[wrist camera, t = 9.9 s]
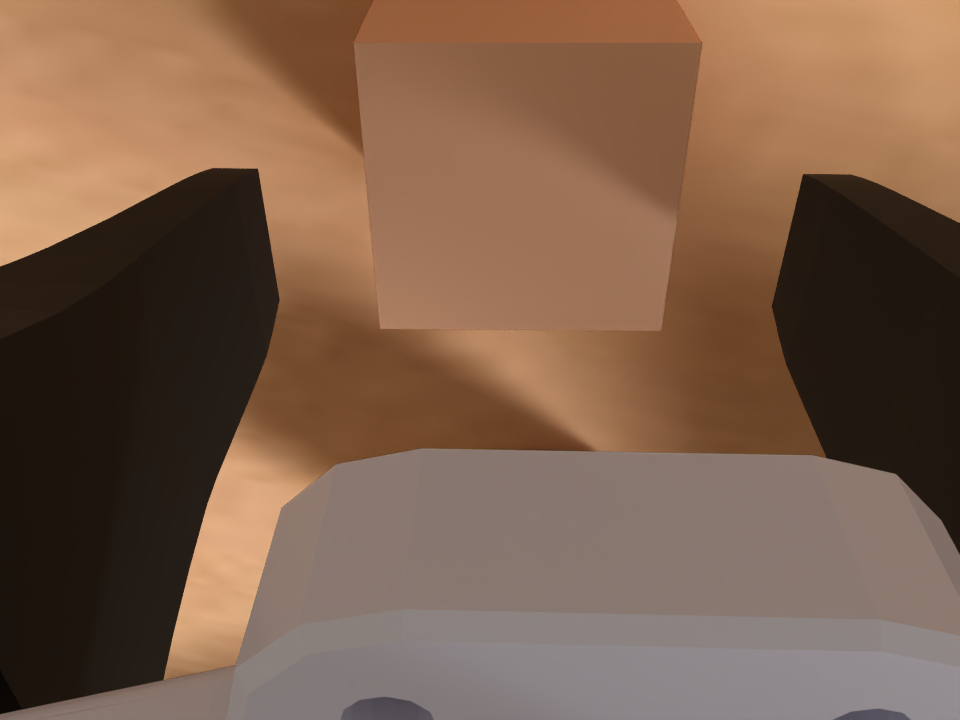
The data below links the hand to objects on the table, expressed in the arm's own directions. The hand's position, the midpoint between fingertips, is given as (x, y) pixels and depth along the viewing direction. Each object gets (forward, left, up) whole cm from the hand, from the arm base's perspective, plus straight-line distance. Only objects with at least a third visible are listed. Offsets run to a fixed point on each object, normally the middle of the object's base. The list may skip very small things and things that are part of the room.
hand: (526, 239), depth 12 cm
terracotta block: (0, 0, -6) cm, 6 cm away
